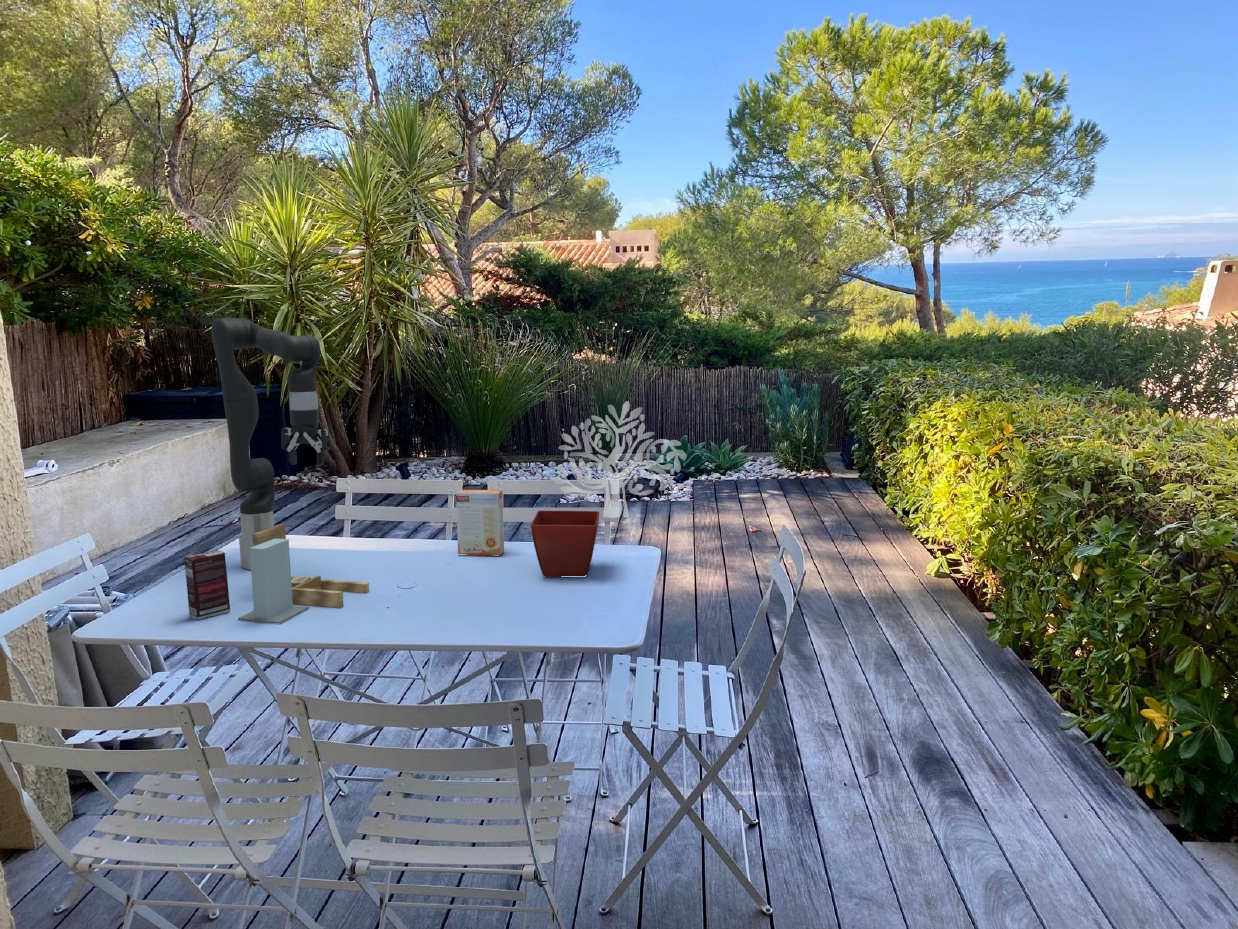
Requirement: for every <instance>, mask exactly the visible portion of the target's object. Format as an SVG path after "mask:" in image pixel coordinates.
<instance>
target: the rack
mask: <svg viewBox="0 0 1238 929" xmlns="http://www.w3.org/2000/svg"><path fill="white" fill-rule="evenodd" d="M252 535H253V547H254V546H256V545H259V544H262V543H264V542H267V541H270V540H272V539H287V537H286V536H287V535H286V524H285V523H279V524H277V525H274V527H271V528H268V529H265V530H262V531H259V532H257V533H254V534H252ZM295 577H296V576H291V580H292V579H294V578H295ZM344 592H347V593H358V594H359V593H361V594H367V593H369V592H370V584H369V582H362V581H351V580H349V581H348V580H338V579H336V580H335V579H323V578H322V576H321V575H316V576H314V577H311V579H310V580H308V581H306V582H303V583H301V584H299V585H297V586H295V587H292V601H293V605H300V606H312V607H313V606H315V607H324V608H326V607H327V608H336V609H341V608H343V607H344Z"/></svg>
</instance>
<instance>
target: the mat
mask: <svg viewBox="0 0 1238 929" xmlns="http://www.w3.org/2000/svg"><path fill="white" fill-rule="evenodd" d="M309 609H310V608H309V606H307V605H295V604H293V607H291V608H289V609H287V610H285V611H283V612H282V613H280V614H278V615H276V616H274V617H272V618H270V619H261V618H254V609H253V610H252V611H249V612H247V613H245V614H243V615H241V616H239V617H238V618H237V620H238V621H240V620H247V621H246V622H251V621H254V622H255V623H263V624H272V623H282V624H284V623H285V622H288V621H289V620H291V619H293V618H295V617H296V616H299V615H300V614H302V613H304V612H306V611H308V610H309ZM254 622H253V623H254ZM283 622H284V623H283Z"/></svg>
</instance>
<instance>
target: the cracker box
mask: <svg viewBox="0 0 1238 929" xmlns="http://www.w3.org/2000/svg"><path fill="white" fill-rule="evenodd" d="M455 500H456V505H455V506H456V531H457V532H456V533H457V534H456V535H457V554H467V555H501V556H502V555H503V554H504V552H505V542H504V541H505V540H504V537H505V534H504V507H503V506H504V505H503V504H504V503H503V502H504V500H503V490H501V489H460V490H458V491H457V492H456V493H455ZM502 553H503V554H502Z"/></svg>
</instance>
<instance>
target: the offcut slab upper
mask: <svg viewBox="0 0 1238 929" xmlns="http://www.w3.org/2000/svg"><path fill="white" fill-rule="evenodd" d="M294 577H295V578H294V579H292V580H291V585H292V587H295V586H297V585H299V584H301V583H303V582H306V581H308V580H310V579H311V578H312V577H311V576H294Z"/></svg>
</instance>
